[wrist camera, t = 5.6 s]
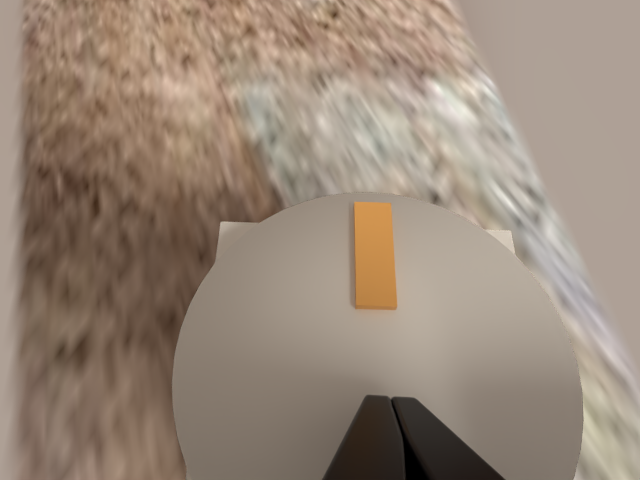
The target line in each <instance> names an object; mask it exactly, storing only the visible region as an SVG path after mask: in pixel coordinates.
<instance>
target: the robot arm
mask: <svg viewBox="0 0 640 480" xmlns="http://www.w3.org/2000/svg"><path fill="white" fill-rule="evenodd" d="M322 480H506V479H504V478H503V477H502V476H501V475H500V474H499V473H498V472H497V471H496V470H495V469H493V468H492V467H491V466H490V465H489V464H488V463H487V462H486V461H485V460H484V459H482V458H481V457H480V456H479V455H478V454H477V453H476V452H475V451H474V450H473V449H471V448H470V447H469V446H468V445H467V444H466V443H465V442H464V441H463V440H462V439H460V438H459V437H458V436H457V435H456V434H455V433H454V432H453V431H452V430H450V429H449V428H448V427H447V426H446V425H445V424H444V423H443V422H442V421H441V420H439V419H438V418H437V417H436V416H435V415H434V414H433V413H432V412H431V411H430V410H428V409H427V408H426V407H425V406H424V405H423V404H422V403H421V402H420V401H419V400H417V399H416V398H414V397H400V396H394V397H392V398H391V399H390V397H388V396H383V395H366V396H365V397H364V399H363V401H362V403H361V405H360V407H359V409H358V410H357V412H356V414H355V416H354V418H353V420H352V422H351V424H350V426H349V428H348V430H347V432H346V434H345V436H344V438H343V440H342V442H341V443H340V445H339V447H338V449H337V451H336V453H335V455H334V457H333V459H332V461H331V463H330V465H329V467H328V469H327V471H326V473H325V475H324V476H323V478H322Z"/></svg>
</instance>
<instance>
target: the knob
mask: <svg viewBox="0 0 640 480" xmlns="http://www.w3.org/2000/svg"><path fill="white" fill-rule="evenodd" d="M366 395H383V396H388V397H390V399H391V398H392V397H394V396H400V397H414V398H416V399H417V400H419V401H420V402H421V403H422V404H423V405H424V406H425V407H426V408H427V409H428V410H430V411H431V412H432V413H433V414H434V415H435V416H436V417H437V418H438V419H439V420H441V421H442V422H443V423H444V424H445V425H446V426H447V427H448V428H449V429H450V430H452V431H453V432H454V433H455V434H456V435H457V436H458V437H459V438H460V439H462V440H463V441H464V442H465V443H466V444H467V445H468V446H469V447H470V448H471V449H473V450H474V451H475V452H476V453H477V454H478V455H479V456H480V457H481V458H482V459H484V460H485V461H486V462H487V463H488V464H489V465H490V466H491V467H492V468H493V469H495V470H496V471H497V472H498V473H499V474H500V475H501V476H502V477H503V478H504V479H506V480H573V479H574V476H575V472H576V467H577V463H578V459H579V454H580V450H581V442H582V431H583V397H582V387H581V382H580V376H579V370H578V365H577V361H576V358H575V355H574V351H573V348H572V345H571V341H570V339H569V336H568V334H567V332H566V329H565V327H564V325H563V322H562V320H561V318H560V316H559V314H558V312H557V310H556V309H555V307H554V305H553V303H552V302H551V300H550V298H549V296H548V295H547V293H546V292H545V290H544V289H543V288H542V286H541V285H540V284H539V282H538V281H537V280H536V278H535V277H534V275H533V274H532V273H531V272H530V271H529V270H528V268H527V267H526V266H525V265H524V264H523V263H522V262H521V261H520V260H519V259H518V258H517V256H516V255H515V250H514V245H513V240H512V235H511V231H508V230H483V229H482V228H481V227H479V226H478V225H476V224H474V223H472V222H471V221H469V220H467V219H465V218H463V217H462V216H460V215H458V214H456V213H454V212H451V211H449V210H447V209H444V208H442V207H440V206H437V205H434V204H431V203H428V202H425V201H421V200H418V199H415V198H410V197H405V196H400V195H395V194H385V193H374V192H361V193H344V194H336V195H329V196H324V197H320V198H316V199H312V200H308V201H305V202H302V203H299V204H297V205H294V206H291V207H289V208H286V209H284V210H282V211H280V212H278V213H276V214H274V215H272V216H270V217H269V218H267V219H265V220H263V221H262V222H261V223H250V222H221V223H220V230H219V238H218V245H217V252H216V260H215V264H214V265H213V266H212V268H211V269H210V271H209V272H208V274H207V275H206V277H205V278H204V279H203V281H202V282H201V284H200V286H199V288H198V290H197V291H196V293H195V295H194V297H193V299H192V301H191V303H190V305H189V307H188V310H187V313H186V315H185V318H184V321H183V323H182V326H181V329H180V333H179V337H178V342H177V346H176V350H175V355H174V365H173V375H172V401H173V414H174V420H175V426H176V432H177V438H178V441H179V445H180V448H181V451H182V454H183V458H184V461H185V464H186V467H187V472H186V479H185V480H322V478H323V476H324V475H325V473H326V471H327V469H328V467H329V465H330V463H331V461H332V459H333V457H334V455H335V453H336V451H337V449H338V447H339V445H340V443H341V442H342V440H343V438H344V436H345V434H346V432H347V430H348V428H349V426H350V424H351V422H352V420H353V418H354V416H355V414H356V412H357V410H358V409H359V407H360V405H361V403H362V401H363V399H364V397H365V396H366Z"/></svg>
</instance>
